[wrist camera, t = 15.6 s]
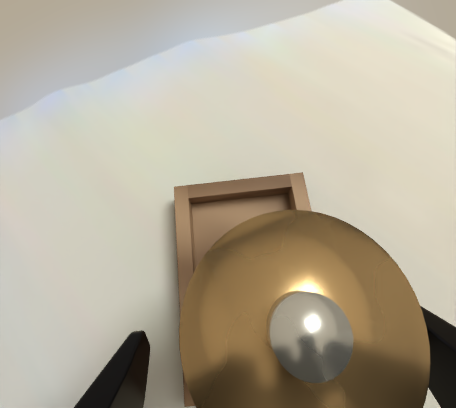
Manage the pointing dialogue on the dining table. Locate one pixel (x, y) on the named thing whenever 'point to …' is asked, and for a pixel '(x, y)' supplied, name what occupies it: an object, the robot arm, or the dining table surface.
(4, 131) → the dining table surface
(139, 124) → the dining table surface
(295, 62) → the dining table surface
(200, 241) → the wooden tray
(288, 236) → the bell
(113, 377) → the robot arm
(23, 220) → the dining table surface
